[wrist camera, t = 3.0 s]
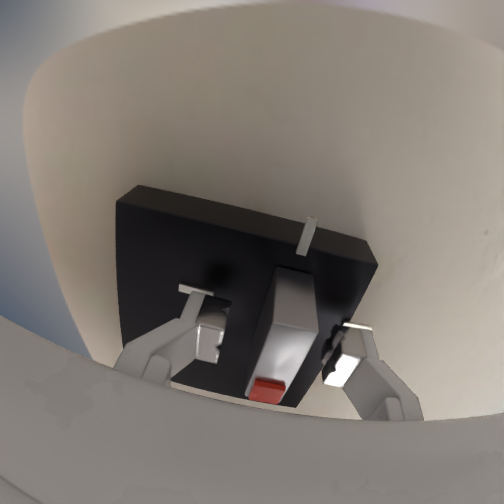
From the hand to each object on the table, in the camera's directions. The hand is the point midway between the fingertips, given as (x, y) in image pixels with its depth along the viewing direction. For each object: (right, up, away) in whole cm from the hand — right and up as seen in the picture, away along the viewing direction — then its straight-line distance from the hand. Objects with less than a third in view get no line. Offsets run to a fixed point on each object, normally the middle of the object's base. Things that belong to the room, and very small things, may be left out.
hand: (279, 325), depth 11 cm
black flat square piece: (-2, 0, +4) cm, 4 cm away
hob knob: (0, 0, +1) cm, 1 cm away
